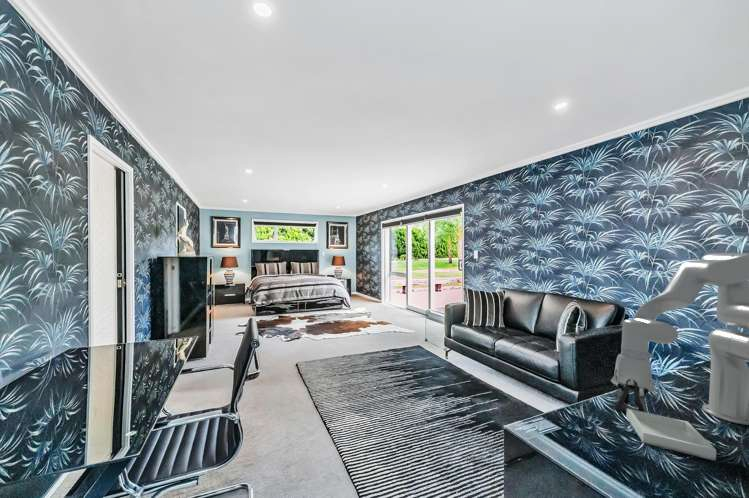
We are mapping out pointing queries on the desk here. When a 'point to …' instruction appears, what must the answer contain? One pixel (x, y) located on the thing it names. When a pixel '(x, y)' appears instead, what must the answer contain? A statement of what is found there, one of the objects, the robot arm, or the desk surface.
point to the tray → (670, 434)
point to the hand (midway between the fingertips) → (631, 403)
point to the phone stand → (639, 401)
